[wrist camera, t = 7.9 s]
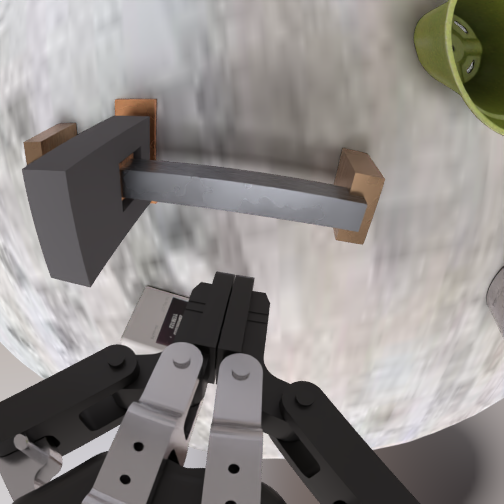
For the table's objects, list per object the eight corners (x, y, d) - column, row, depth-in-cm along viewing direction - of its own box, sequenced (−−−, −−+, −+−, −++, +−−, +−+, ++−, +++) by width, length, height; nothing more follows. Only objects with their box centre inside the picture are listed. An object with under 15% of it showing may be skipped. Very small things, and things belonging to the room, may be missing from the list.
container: (145, 283, 32) (98, 386, 22) (215, 304, 33) (187, 415, 23) (144, 327, 37) (109, 417, 26) (204, 344, 38) (180, 440, 27)
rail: (373, 129, 21) (400, 156, 16) (345, 230, 26) (357, 278, 21) (57, 102, 21) (9, 123, 16) (67, 192, 26) (30, 227, 21)
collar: (149, 116, 20) (65, 171, 12) (151, 201, 24) (90, 287, 16) (113, 115, 20) (21, 169, 12) (119, 197, 24) (51, 277, 16)
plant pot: (369, 60, 18) (416, 67, 11) (418, -32, 12) (477, -58, 5) (464, 127, 19) (527, 169, 12) (507, 42, 14) (579, 58, 7)
